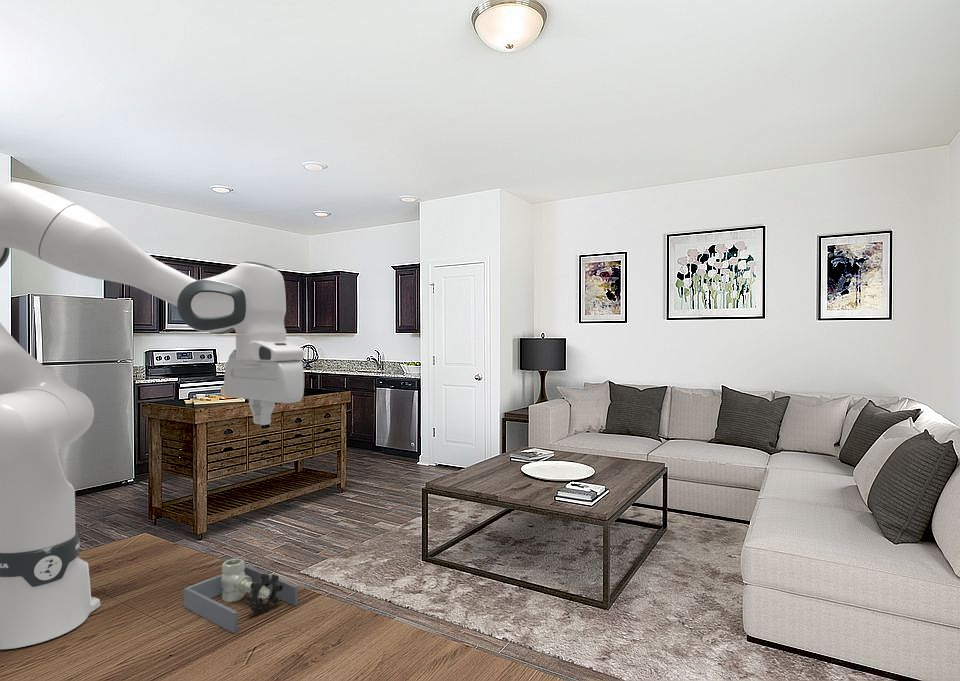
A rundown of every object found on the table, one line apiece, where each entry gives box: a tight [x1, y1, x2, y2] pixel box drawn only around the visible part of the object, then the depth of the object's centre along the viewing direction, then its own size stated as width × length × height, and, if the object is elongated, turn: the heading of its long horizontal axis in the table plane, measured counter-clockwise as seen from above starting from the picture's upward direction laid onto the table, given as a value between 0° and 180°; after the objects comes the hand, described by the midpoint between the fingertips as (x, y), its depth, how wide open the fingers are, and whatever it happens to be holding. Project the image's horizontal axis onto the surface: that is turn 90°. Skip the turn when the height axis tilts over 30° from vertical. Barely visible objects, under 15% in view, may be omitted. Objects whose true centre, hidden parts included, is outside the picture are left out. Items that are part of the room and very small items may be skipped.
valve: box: [221, 558, 283, 614], centre depth 104 cm, size 7×7×12 cm
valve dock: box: [183, 565, 299, 635], centre depth 103 cm, size 16×12×3 cm
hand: (262, 424), depth 109 cm, fingers closed
